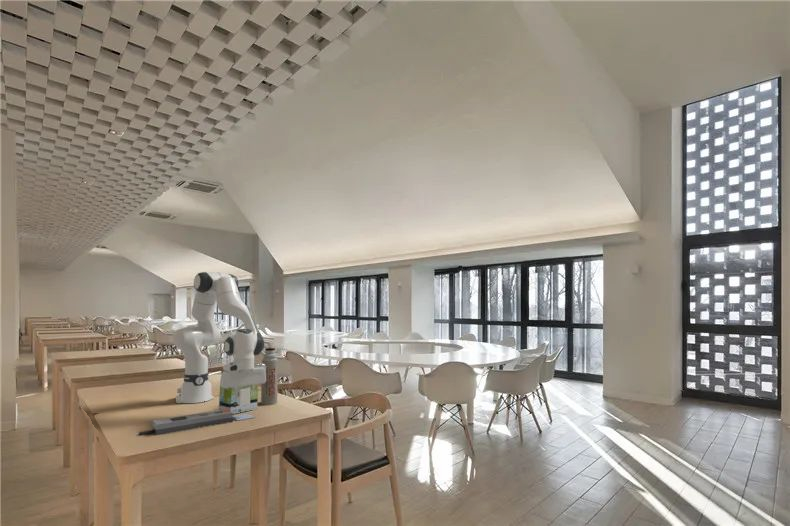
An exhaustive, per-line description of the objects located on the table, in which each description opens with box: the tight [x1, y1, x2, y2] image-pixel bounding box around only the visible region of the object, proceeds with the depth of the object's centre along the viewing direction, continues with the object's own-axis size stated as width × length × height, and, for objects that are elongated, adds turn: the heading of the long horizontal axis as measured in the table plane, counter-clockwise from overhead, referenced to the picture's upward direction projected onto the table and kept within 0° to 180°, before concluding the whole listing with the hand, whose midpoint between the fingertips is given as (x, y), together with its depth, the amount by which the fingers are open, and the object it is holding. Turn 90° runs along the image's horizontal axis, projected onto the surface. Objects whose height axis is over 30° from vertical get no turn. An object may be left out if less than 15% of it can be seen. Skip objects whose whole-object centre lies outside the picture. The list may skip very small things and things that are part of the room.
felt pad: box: [233, 413, 256, 422], centre depth 205 cm, size 8×8×1 cm
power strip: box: [138, 409, 234, 436], centre depth 190 cm, size 8×36×5 cm, turn 129°
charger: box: [237, 387, 250, 406], centre depth 205 cm, size 4×4×7 cm
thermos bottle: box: [260, 347, 279, 406], centre depth 234 cm, size 8×8×28 cm
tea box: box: [218, 384, 259, 415], centre depth 218 cm, size 15×10×15 cm
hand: (243, 395), depth 205 cm, fingers closed on charger, 4 cm apart
